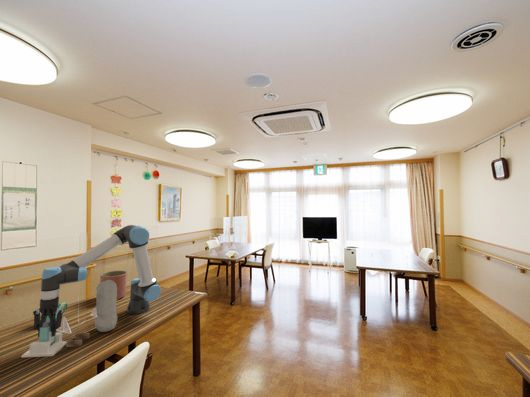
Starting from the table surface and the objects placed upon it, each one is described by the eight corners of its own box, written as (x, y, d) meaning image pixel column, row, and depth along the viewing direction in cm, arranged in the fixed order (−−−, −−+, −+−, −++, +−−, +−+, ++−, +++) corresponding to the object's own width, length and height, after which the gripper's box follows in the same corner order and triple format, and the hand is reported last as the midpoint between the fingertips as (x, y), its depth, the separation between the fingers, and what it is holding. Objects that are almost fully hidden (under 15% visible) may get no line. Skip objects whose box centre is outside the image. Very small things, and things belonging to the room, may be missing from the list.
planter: (106, 293, 208) (108, 270, 209) (129, 293, 210) (131, 270, 211) (93, 302, 190) (95, 276, 190) (119, 302, 192) (120, 276, 192)
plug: (53, 342, 130) (55, 319, 130) (46, 347, 125) (48, 323, 125) (46, 342, 129) (47, 319, 130) (38, 347, 124) (40, 324, 125)
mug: (48, 326, 150) (49, 310, 151) (36, 324, 152) (37, 308, 153) (71, 316, 165) (72, 301, 165) (60, 314, 167) (61, 300, 167)
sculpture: (123, 326, 154) (126, 278, 155) (109, 335, 142) (112, 284, 144) (101, 324, 156) (104, 277, 157) (86, 333, 144) (89, 282, 145)
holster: (89, 337, 139) (89, 332, 140) (80, 346, 131) (80, 340, 131) (76, 338, 138) (76, 333, 138) (66, 347, 130) (66, 341, 130)
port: (68, 342, 134) (69, 331, 134) (52, 355, 122) (53, 343, 122) (39, 344, 132) (40, 332, 132) (21, 357, 120) (22, 345, 120)
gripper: (71, 294, 133) (68, 338, 132) (37, 295, 130) (34, 339, 129) (62, 299, 126) (59, 346, 125) (26, 300, 123) (22, 347, 122)
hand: (46, 342), depth 127 cm, fingers closed on plug, 4 cm apart
